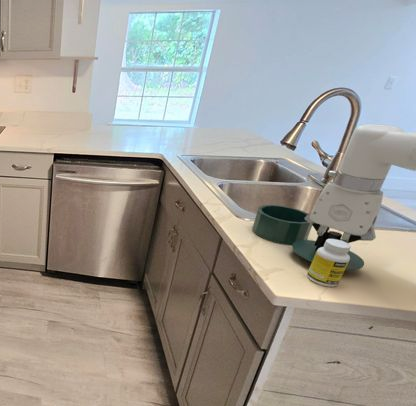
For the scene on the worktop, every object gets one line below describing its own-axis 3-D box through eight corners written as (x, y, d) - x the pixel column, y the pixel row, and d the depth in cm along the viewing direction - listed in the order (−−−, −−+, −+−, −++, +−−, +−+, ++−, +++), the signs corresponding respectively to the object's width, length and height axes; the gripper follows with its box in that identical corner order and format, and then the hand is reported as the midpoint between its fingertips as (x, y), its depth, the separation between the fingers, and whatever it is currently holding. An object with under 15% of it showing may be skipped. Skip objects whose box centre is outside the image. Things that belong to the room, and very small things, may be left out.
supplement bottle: (325, 289, 80) (342, 250, 76) (300, 275, 85) (314, 238, 81) (344, 285, 81) (362, 247, 77) (318, 271, 86) (333, 235, 82)
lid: (372, 262, 86) (384, 238, 83) (348, 278, 81) (360, 253, 78) (306, 239, 97) (314, 216, 94) (280, 252, 91) (289, 229, 88)
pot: (314, 237, 100) (322, 216, 98) (292, 249, 95) (300, 227, 93) (265, 221, 110) (272, 201, 107) (243, 231, 105) (249, 210, 102)
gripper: (305, 174, 86) (280, 242, 93) (403, 197, 73) (365, 273, 80) (320, 169, 89) (295, 235, 96) (416, 189, 76) (379, 264, 83)
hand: (327, 252), depth 88 cm, fingers closed on lid, 2 cm apart
